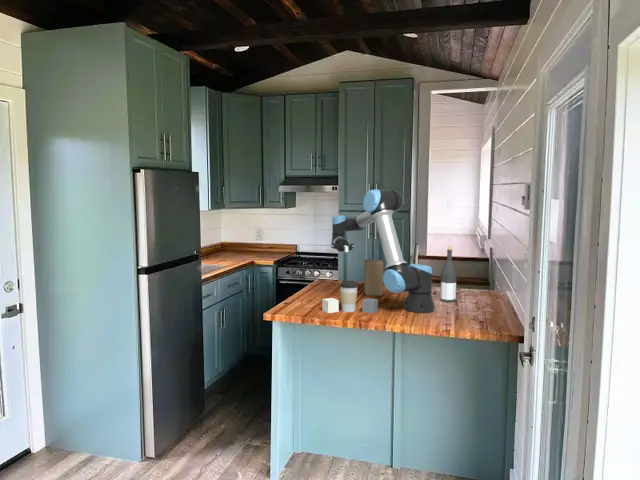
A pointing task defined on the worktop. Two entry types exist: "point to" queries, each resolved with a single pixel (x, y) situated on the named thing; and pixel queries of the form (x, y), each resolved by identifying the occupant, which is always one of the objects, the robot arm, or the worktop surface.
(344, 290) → the coffee cup
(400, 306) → the worktop surface
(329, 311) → the cream block
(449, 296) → the wine bottle
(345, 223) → the robot arm
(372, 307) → the charcoal block
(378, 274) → the block
